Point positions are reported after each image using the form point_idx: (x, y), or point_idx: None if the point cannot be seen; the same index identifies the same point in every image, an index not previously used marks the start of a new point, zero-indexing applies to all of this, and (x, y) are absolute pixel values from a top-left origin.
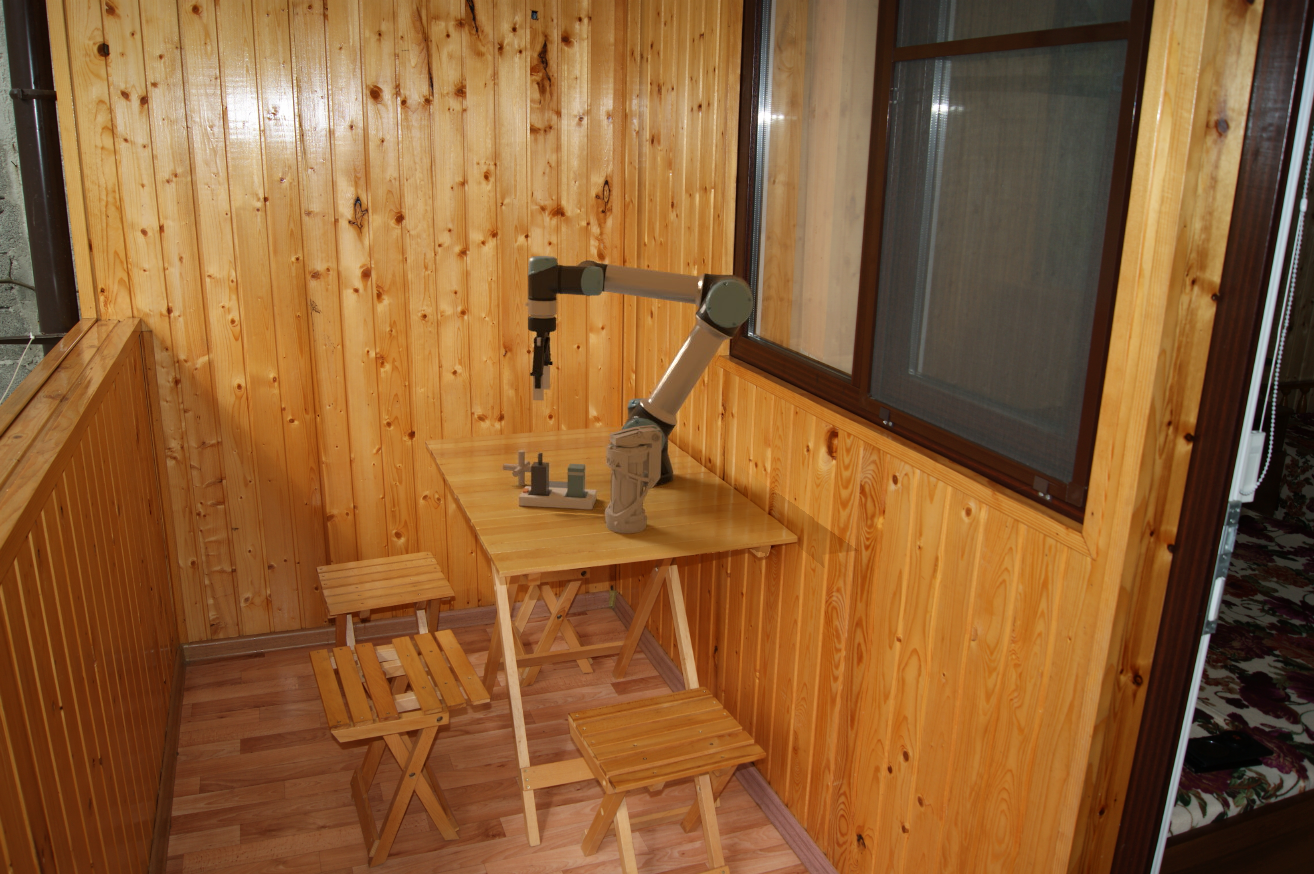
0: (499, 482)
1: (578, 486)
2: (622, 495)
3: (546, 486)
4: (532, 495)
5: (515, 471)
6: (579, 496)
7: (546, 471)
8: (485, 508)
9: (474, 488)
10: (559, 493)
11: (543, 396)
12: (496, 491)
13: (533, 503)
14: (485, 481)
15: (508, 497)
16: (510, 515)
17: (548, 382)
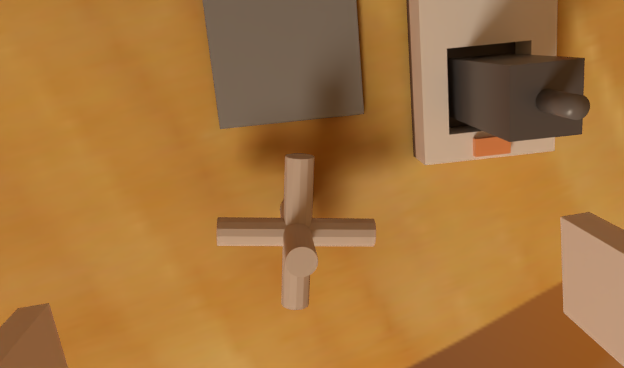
0: (272, 295)
1: None
2: None
3: (532, 55)
4: None
5: (375, 235)
6: None
7: (570, 57)
8: (556, 244)
9: (361, 348)
10: (492, 5)
11: (583, 228)
12: (375, 270)
13: None
14: (274, 342)
15: (431, 211)
16: (613, 145)
17: (17, 357)
